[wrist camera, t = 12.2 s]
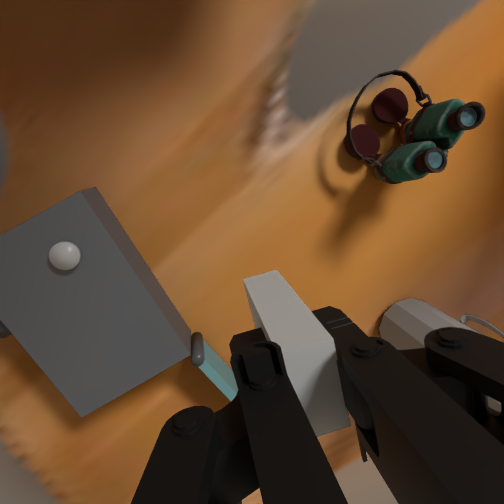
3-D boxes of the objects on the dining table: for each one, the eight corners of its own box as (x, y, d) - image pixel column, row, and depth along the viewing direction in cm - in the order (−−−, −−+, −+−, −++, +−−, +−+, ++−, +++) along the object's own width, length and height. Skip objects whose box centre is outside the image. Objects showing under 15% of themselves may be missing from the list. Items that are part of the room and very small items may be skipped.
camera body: (-34, 259, 36) (-78, 278, 30) (95, 186, 37) (77, 191, 31) (78, 396, 41) (59, 435, 35) (191, 331, 42) (191, 359, 36)
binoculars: (424, 27, 29) (512, 111, 31) (370, 70, 39) (438, 131, 41) (350, 122, 30) (440, 200, 31) (317, 140, 40) (385, 197, 42)
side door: (258, 412, 45) (267, 442, 40) (189, 336, 42) (189, 360, 37) (271, 402, 45) (281, 432, 40) (202, 326, 42) (204, 348, 37)
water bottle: (391, 363, 47) (603, 572, 23) (364, 315, 45) (566, 490, 21) (453, 323, 47) (728, 489, 23) (429, 273, 45) (704, 399, 21)
